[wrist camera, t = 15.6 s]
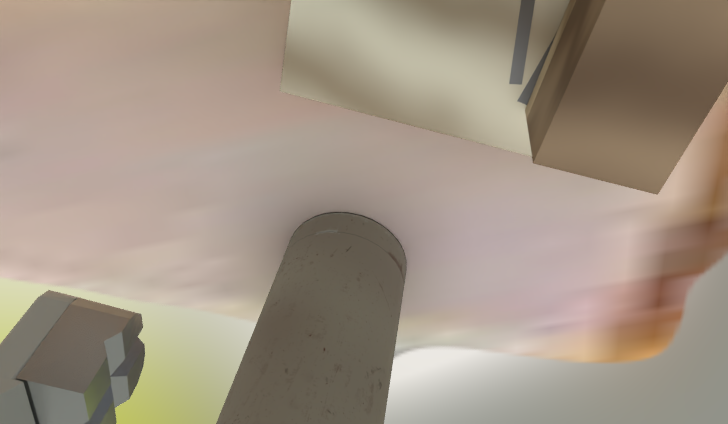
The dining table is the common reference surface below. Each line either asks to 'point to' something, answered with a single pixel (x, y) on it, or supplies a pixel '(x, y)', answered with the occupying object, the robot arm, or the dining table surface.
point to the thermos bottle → (324, 329)
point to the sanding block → (628, 87)
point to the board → (425, 61)
